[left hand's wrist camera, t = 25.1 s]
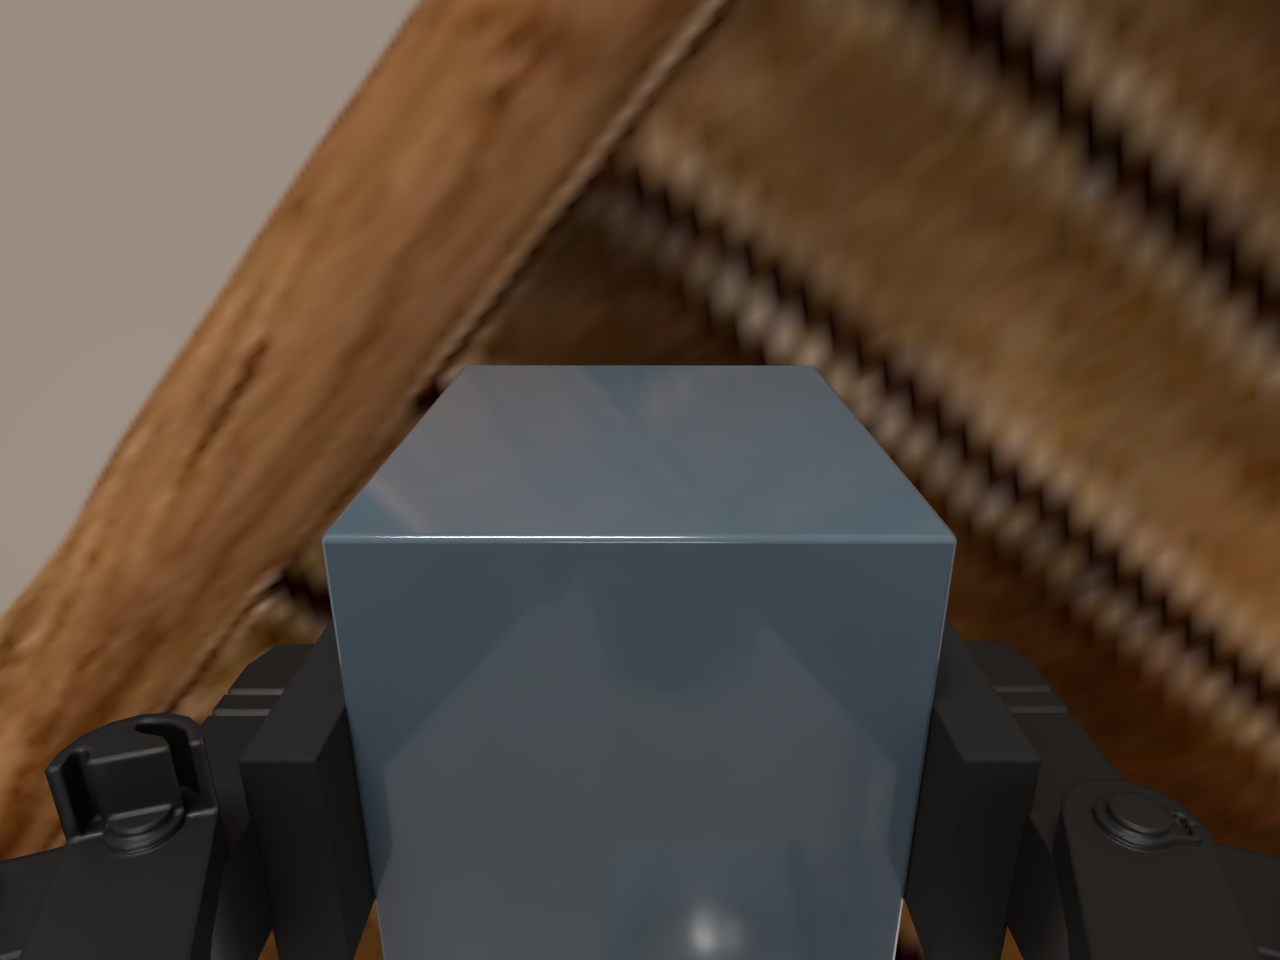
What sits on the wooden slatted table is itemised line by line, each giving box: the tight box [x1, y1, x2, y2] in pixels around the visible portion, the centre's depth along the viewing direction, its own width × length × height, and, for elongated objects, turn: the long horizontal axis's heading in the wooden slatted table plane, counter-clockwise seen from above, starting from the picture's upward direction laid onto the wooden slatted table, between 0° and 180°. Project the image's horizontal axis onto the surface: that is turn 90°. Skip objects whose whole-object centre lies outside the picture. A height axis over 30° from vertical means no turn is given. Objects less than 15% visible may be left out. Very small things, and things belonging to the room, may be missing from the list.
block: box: [321, 366, 957, 960], centre depth 13 cm, size 6×6×7 cm
